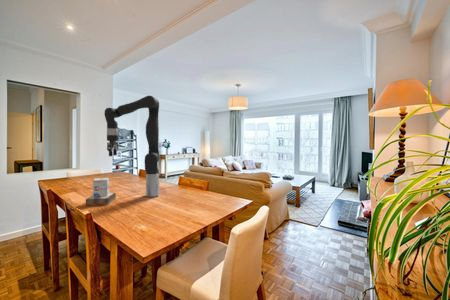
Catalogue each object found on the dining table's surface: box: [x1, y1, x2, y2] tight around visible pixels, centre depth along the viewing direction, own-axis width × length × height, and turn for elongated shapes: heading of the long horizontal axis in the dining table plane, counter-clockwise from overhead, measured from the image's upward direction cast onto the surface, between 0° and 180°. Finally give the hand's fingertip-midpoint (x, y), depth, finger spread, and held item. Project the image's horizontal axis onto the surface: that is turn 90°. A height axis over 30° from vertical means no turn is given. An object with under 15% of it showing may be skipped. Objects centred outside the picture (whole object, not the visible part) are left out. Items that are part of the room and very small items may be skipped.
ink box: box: [92, 177, 110, 197], centre depth 129 cm, size 9×5×12 cm, turn 109°
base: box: [85, 192, 117, 206], centre depth 130 cm, size 13×13×4 cm
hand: (112, 155), depth 145 cm, fingers open, 8 cm apart
